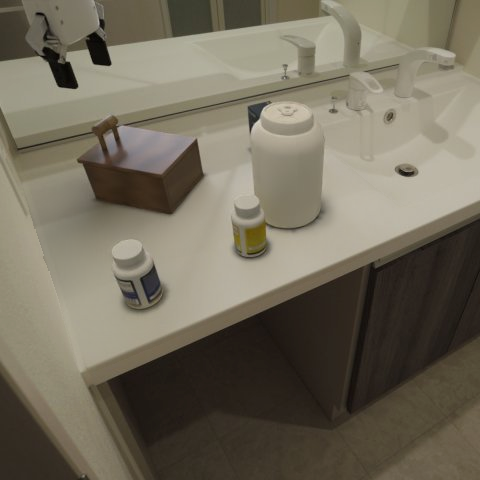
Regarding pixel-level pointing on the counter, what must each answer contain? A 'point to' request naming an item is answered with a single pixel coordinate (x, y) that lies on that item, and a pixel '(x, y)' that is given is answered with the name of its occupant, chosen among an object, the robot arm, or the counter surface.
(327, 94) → the counter surface
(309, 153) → the white canister
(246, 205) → the supplement bottle
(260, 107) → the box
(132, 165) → the lid
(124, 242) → the pill bottle
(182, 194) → the chest
